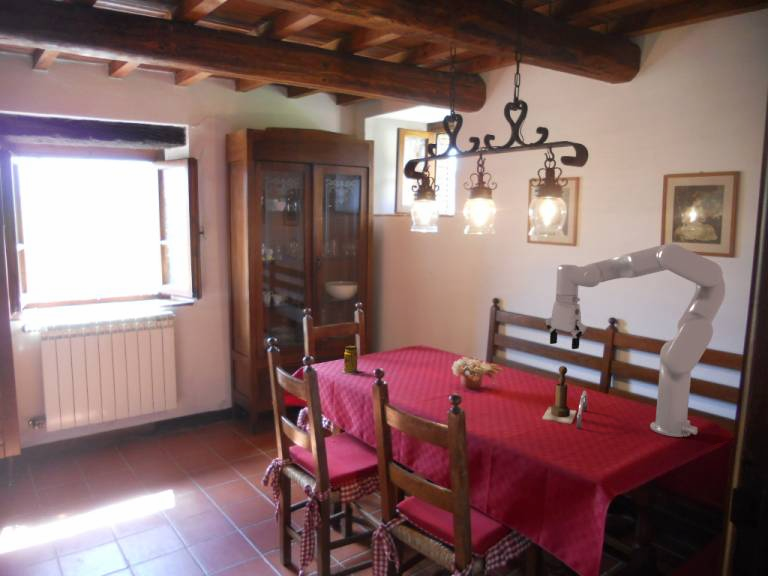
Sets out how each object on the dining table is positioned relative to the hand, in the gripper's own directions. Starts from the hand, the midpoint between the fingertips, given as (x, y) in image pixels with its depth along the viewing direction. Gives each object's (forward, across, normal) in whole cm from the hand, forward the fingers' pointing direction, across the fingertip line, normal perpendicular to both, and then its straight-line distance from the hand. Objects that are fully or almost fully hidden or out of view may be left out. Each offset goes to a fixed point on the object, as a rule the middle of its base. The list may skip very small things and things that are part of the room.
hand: (564, 346), depth 208 cm
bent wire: (+26, -6, -4) cm, 27 cm away
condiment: (+26, +90, +35) cm, 100 cm away
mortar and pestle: (+26, 0, 0) cm, 26 cm away
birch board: (+26, 0, 0) cm, 26 cm away
